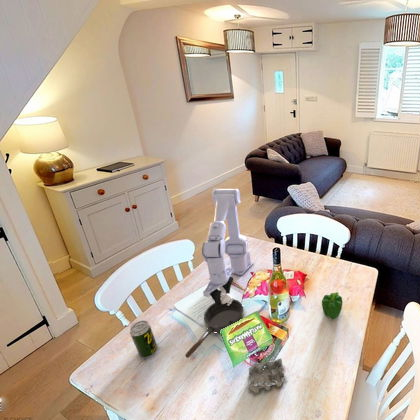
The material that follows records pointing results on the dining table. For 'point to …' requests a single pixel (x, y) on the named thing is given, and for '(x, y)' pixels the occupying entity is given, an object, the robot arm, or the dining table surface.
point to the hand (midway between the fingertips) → (222, 298)
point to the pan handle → (199, 342)
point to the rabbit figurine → (224, 296)
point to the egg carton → (266, 375)
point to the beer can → (143, 339)
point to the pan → (223, 315)
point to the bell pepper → (332, 305)
